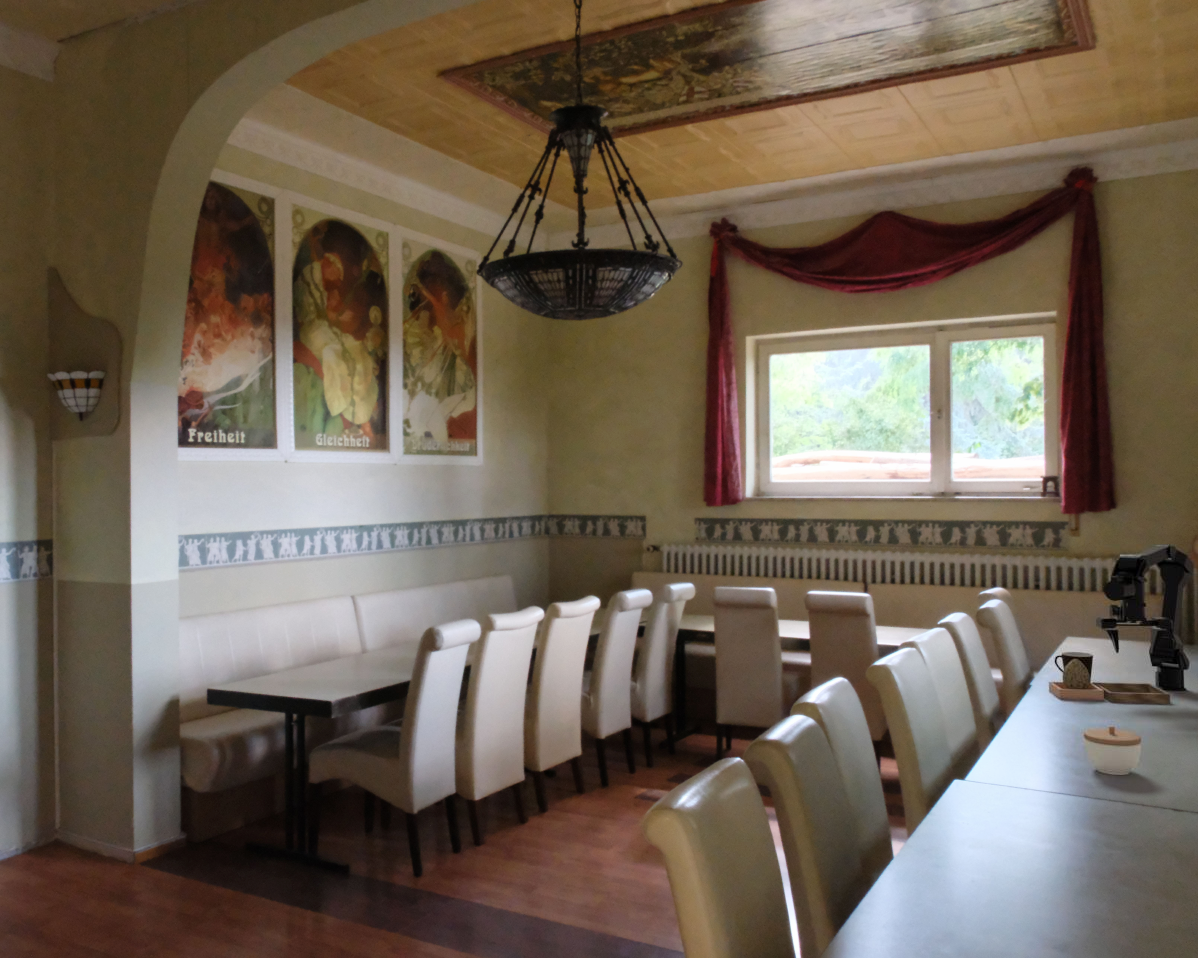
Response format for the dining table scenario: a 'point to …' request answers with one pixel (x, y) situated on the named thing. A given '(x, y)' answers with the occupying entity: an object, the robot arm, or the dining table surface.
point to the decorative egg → (1076, 675)
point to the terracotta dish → (1076, 692)
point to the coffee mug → (1082, 657)
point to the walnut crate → (1149, 696)
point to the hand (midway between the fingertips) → (1134, 653)
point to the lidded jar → (1112, 750)
